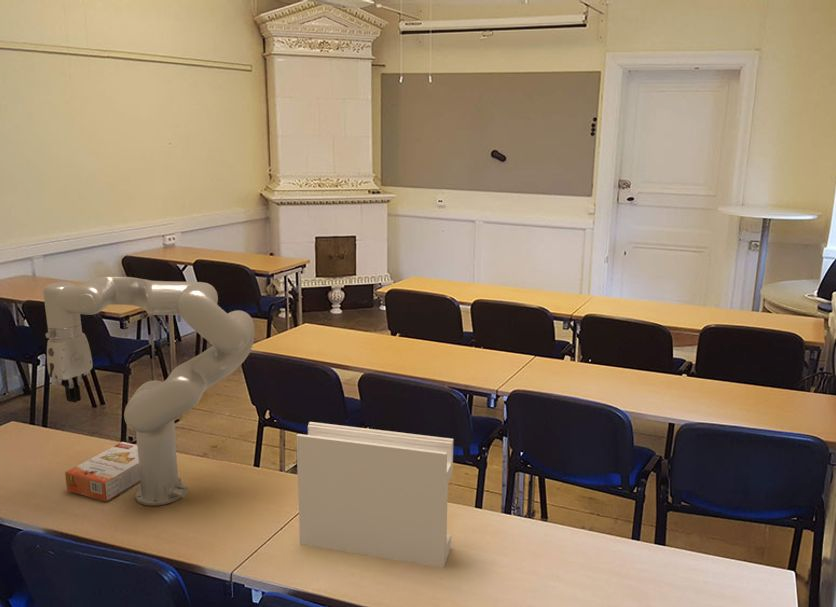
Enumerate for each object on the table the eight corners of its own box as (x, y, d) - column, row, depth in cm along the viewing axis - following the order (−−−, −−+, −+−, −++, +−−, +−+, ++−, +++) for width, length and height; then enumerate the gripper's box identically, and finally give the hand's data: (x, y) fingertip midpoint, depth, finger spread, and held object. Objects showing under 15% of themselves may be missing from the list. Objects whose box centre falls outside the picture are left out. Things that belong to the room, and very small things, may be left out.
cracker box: (63, 470, 191) (122, 440, 210) (66, 491, 193) (123, 459, 212) (104, 481, 186) (160, 449, 205) (106, 502, 188) (162, 468, 207)
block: (300, 544, 171) (296, 435, 165) (313, 526, 179) (310, 421, 172) (443, 567, 163) (445, 454, 156) (450, 548, 170) (453, 438, 164)
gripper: (50, 342, 172) (60, 413, 176) (100, 326, 185) (107, 393, 189) (28, 338, 174) (38, 408, 179) (78, 322, 188) (86, 389, 192)
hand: (73, 400), depth 184 cm, fingers closed
